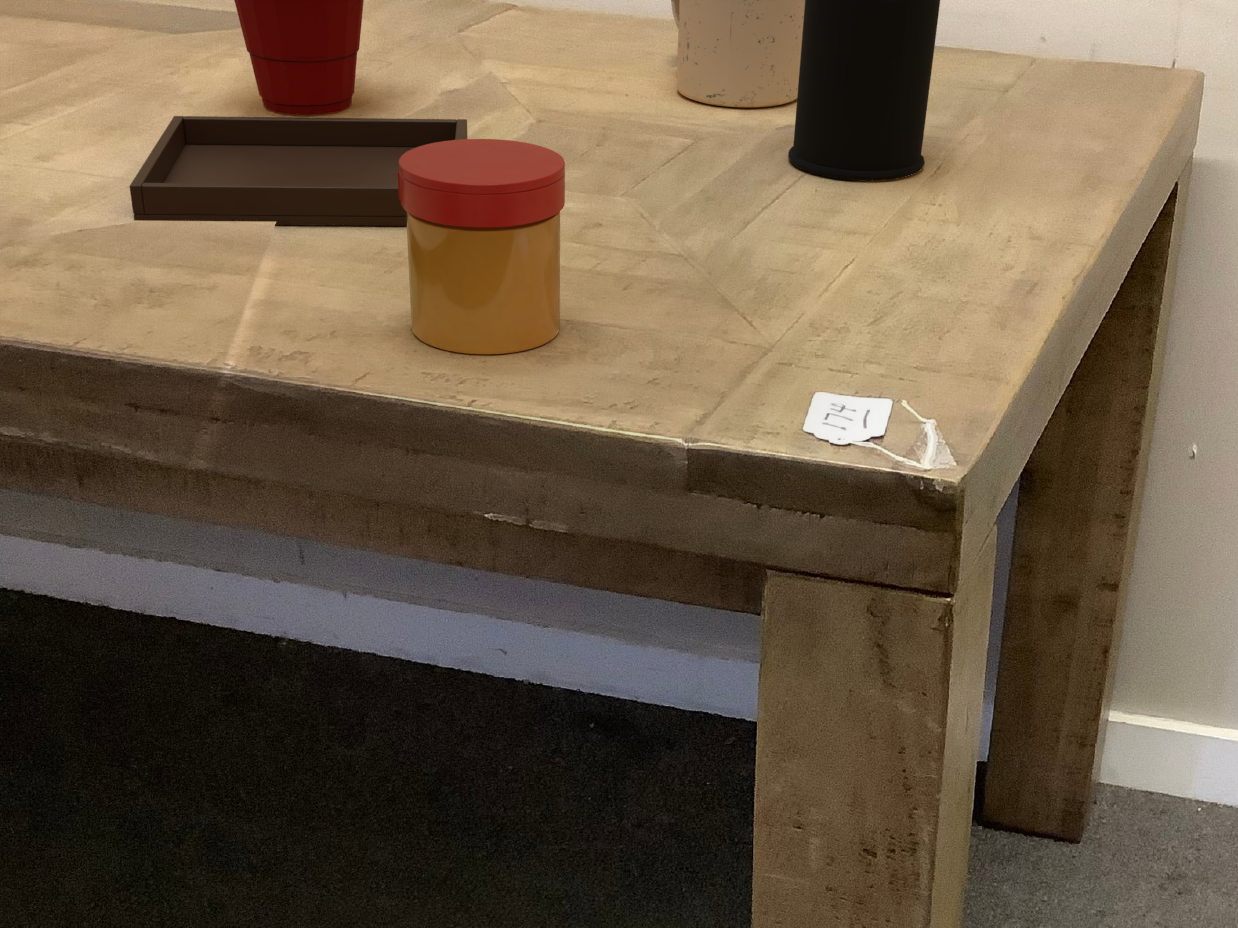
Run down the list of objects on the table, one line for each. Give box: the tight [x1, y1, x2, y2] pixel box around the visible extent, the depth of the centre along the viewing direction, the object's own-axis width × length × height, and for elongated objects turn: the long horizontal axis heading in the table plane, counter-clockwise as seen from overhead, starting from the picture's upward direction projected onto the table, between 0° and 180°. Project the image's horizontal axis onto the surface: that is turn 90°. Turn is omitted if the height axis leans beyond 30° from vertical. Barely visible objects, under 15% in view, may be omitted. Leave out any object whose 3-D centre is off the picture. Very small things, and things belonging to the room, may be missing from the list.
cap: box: [397, 138, 566, 227], centre depth 73 cm, size 7×7×2 cm
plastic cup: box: [233, 0, 364, 116], centre depth 106 cm, size 11×11×12 cm
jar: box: [406, 211, 561, 355], centre depth 75 cm, size 7×7×7 cm
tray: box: [129, 115, 469, 227], centre depth 94 cm, size 17×14×2 cm
